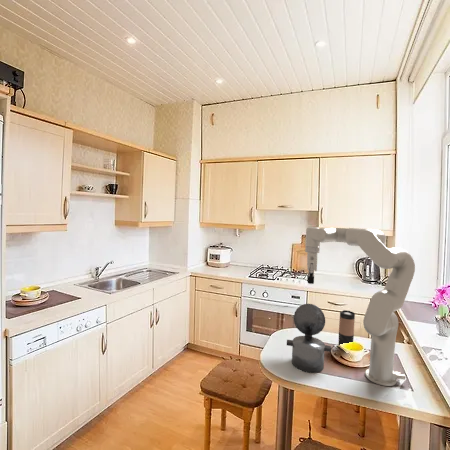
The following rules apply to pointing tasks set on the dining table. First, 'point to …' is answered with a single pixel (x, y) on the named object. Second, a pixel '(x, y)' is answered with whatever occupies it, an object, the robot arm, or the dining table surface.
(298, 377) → the dining table surface
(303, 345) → the cooker pot
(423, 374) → the dining table surface
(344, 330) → the travel mug
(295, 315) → the lid
